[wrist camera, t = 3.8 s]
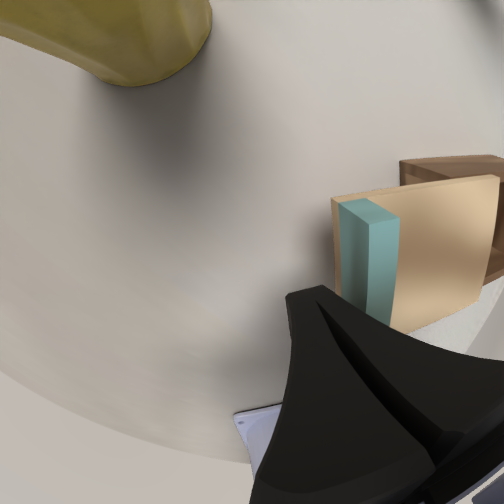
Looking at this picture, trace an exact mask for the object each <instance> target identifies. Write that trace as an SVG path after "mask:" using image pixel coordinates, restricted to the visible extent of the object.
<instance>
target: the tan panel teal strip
mask: <svg viewBox="0 0 504 504" xmlns="http://www.w3.org/2000/svg"><path fill="white" fill-rule="evenodd" d="M499 185H500V177H497V176H494V175H492V174H490V175H481V176H473V177H464V178H456V179H449V180H441V181H434V182H426V183H419V184H413V185H406V186H399V187H393V188H386V189H380V190H374V191H368V192H362V193H356V194H350V195H344V196H338V197H333V198H331V207H332V221H333V238H334V259H335V293H336V294H337V295H339V296H340V297H342V298H343V299H344V300H346V301H347V302H349V303H350V304H352V305H353V306H355V307H357V308H358V309H360V310H361V311H363V312H365V313H366V314H368V315H369V316H371V317H373V318H375V319H376V320H378V321H380V322H382V323H384V324H385V325H387V326H389V327H391V328H393V329H395V330H397V331H399V332H401V333H404V334H407V333H410V332H412V331H415V330H417V329H420V328H422V327H424V326H427V325H429V324H431V323H433V322H436V321H438V320H440V319H442V318H444V317H447V316H449V315H451V314H453V313H455V312H457V311H459V310H461V309H463V308H465V307H467V306H469V305H471V304H473V303H475V302H477V301H478V299H479V296H480V293H481V289H482V285H483V281H484V278H485V274H486V269H487V265H488V261H489V256H490V251H491V246H492V240H493V235H494V229H495V222H496V215H497V206H498V197H499Z"/></svg>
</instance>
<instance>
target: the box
mask: <svg viewBox="0 0 504 504" xmlns="http://www.w3.org/2000/svg"><path fill="white" fill-rule="evenodd" d="M490 174H492V175H494V176H497V177H500V185H499V197H498V206H497V215H496V222H495V229H494V235H493V240H492V246H491V251H490V256H489V261H488V265H487V269H486V274H485V278H484V281H483V285H482V286H484V285H486V284H488V283H490V282H492V281H494V280H496V279H498V278H500V277H501V276H503V275H504V159H503V158H500V157H497V156H493V155H470V156H451V157H436V158H423V159H411V160H401V161H400V186H406V185H413V184H419V183H426V182H434V181H441V180H449V179H456V178H464V177H473V176H481V175H490Z"/></svg>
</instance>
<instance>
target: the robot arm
mask: <svg viewBox="0 0 504 504" xmlns="http://www.w3.org/2000/svg"><path fill="white" fill-rule="evenodd" d="M285 299H286V306H287V314H288V321H289V329H290V336H291V340H292V345H291V359H290V367H289V374H288V379H287V385H286V389H285V394H284V398H283V402H282V404H280V405H275V406H271V407H267V408H262V409H257V410H252V411H247V412H242V413H237V414H235V415H234V416H233V420H234V423H235V425H236V427H237V429H238V431H239V433H240V435H241V437H242V439H243V442H244V444H245V446H246V448H247V450H248V452H249V455H250V461H251V467H252V472H253V477H254V485H253V489H252V493H251V497H250V503H249V504H455V503H456V502H458V501H459V500H461V499H462V498H464V497H465V496H466V495H468V494H469V493H471V492H472V491H474V490H475V489H476V488H477V487H479V486H480V485H482V484H483V483H484V482H485V481H487V480H488V479H489V478H490V477H492V476H493V475H494V474H495V473H496V472H498V471H499V470H500V469H501V468H502V467H504V361H500V360H492V359H484V358H478V357H474V356H469V355H464V354H460V353H456V352H453V351H449V350H446V349H443V348H440V347H436V346H433V345H430V344H428V343H425V342H422V341H420V340H417V339H415V338H413V337H410V336H408V335H406V334H404V333H401V332H399V331H397V330H395V329H393V328H391V327H389V326H387V325H385V324H384V323H382V322H380V321H378V320H376V319H375V318H373V317H371V316H369V315H368V314H366V313H365V312H363V311H361V310H360V309H358V308H357V307H355V306H353V305H352V304H350V303H349V302H347V301H346V300H344V299H343V298H342V297H340V296H339V295H337V294H336V293H334V292H333V291H331V290H330V289H328V288H327V287H325V286H324V285H320V286H316V287H312V288H308V289H304V290H300V291H296V292H292V293H288V294H287V296H286V297H285ZM472 502H473V504H504V473H503V474H502V475H500V476H499V477H498V478H496V479H495V480H494V481H493V482H491V483H490V484H489V485H487V486H486V487H485V488H483V489H482V490H481V491H480V492H479V493H477V494H476V495H475V496H474V497H473V498H472Z"/></svg>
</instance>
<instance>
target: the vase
mask: <svg viewBox="0 0 504 504" xmlns="http://www.w3.org/2000/svg"><path fill="white" fill-rule="evenodd" d="M211 20H212V11H211V6H210V3H209V0H0V36H3V37H6V38H9V39H12V40H14V41H17V42H19V43H22V44H24V45H27V46H29V47H32V48H35V49H37V50H40V51H42V52H45V53H47V54H50V55H53V56H55V57H58V58H60V59H63V60H65V61H67V62H70V63H72V64H74V65H76V66H78V67H80V68H82V69H84V70H86V71H88V72H90V73H92V74H94V75H95V76H97V77H98V78H99V79H100V80H102V81H104V82H107V83H110V84H114V85H120V86H128V87H133V86H142V85H148V84H151V83H155V82H158V81H161V80H163V79H165V78H167V77H169V76H171V75H173V74H174V73H176V72H177V71H179V70H180V69H182V68H183V67H184V66H186V65H187V64H188V63H189V62H190V61H191V60H192V59H193V58H194V57H195V56H196V55H197V53H198V52H199V50H200V49H201V47H202V45H203V44H204V42H205V40H206V38H207V37H208V35H209V33H210V29H211Z"/></svg>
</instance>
